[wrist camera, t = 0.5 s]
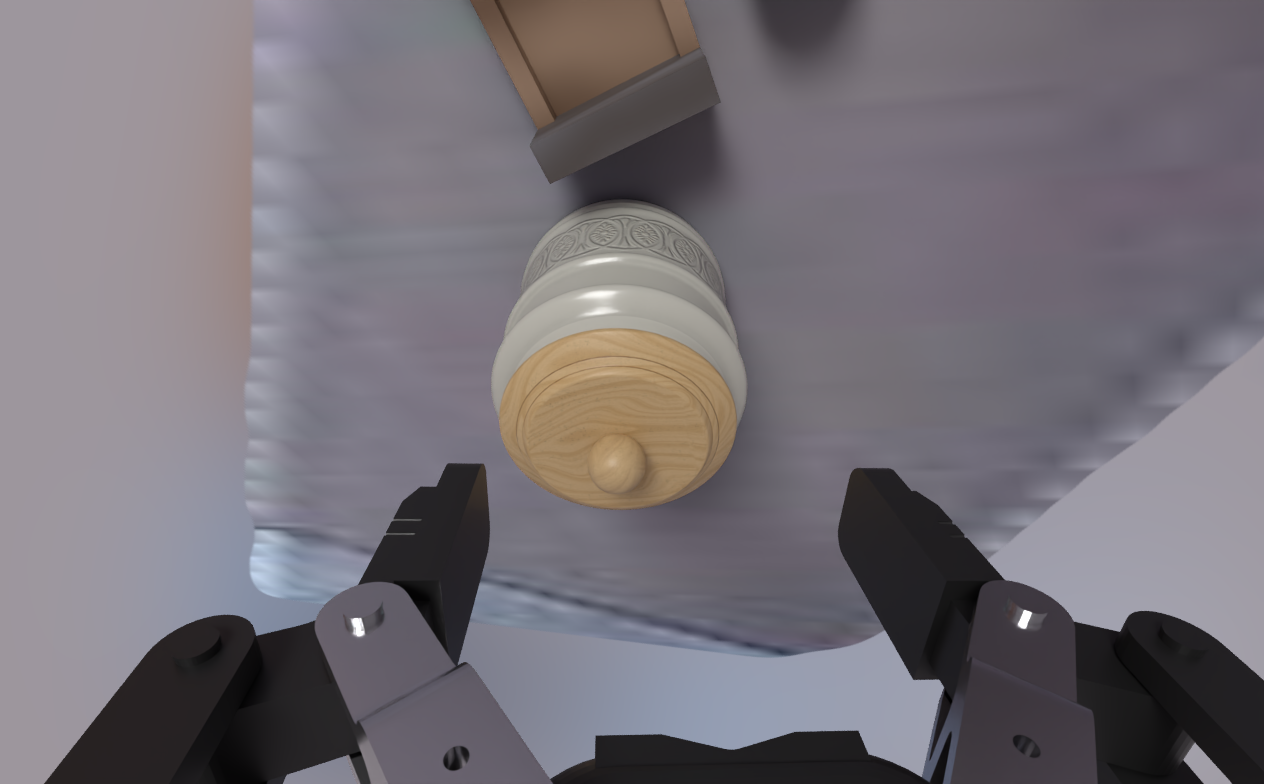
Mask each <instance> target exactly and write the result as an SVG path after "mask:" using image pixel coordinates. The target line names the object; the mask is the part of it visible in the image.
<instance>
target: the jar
mask: <svg viewBox="0 0 1264 784" xmlns="http://www.w3.org/2000/svg"><path fill="white" fill-rule="evenodd" d="M747 391H748V389H747V375H746V370H745V366H744V363H743V360H742V357H741V355H740V352H739V350H738V338H737V334H736V330H735V327H734V323H733V321H732V319H731V316H730V314H729V312H728V311H727V308H726V303H725V288H724V282H723V278H722V275H721V271H720V268H719V265H718V262H717V260H716V258H715V256H714V254H713V252H712V250H711V249H710V247H709V246H708V244H707V243H706V242H705V240H704V239H703V238H702V237H701V236H700V235H699V233H698V232H697V231H696V230H695V229H694V228H693V227H692V226H691V225H690V224H689V223H687V222H686V221H685V220H684V219H682V218H681V217H679V216H678V215H676V214H675V213H673V212H671V211H669V210H667V209H665V208H663V207H661V206H658V205H655V204H652V203H648V202H644V201H639V200H630V199H615V200H606V201H601V202H597V203H593V204H590V205H587V206H585V207H582V208H580V209H578V210H576V211H574V212H572V213H570V214H569V215H567V216H566V217H564V218H563V219H562V220H561V221H559V222H558V223H557V224H556V225H555V226H554V227H552V228H551V229H550V230H549V231H548V232H547V233H546V234H545V235H544V237H543V238H542V239H541V240H540V242H539V243H538V244H537V246H536V247H535V249H534V251H533V252H532V254H531V257H530V259H529V261H528V264H527V266H526V269H525V272H524V275H523V279H522V285H521V294H520V297H519V300H518V301H517V303H516V305H515V306H514V308H513V310H512V312H511V314H510V316H509V319H508V321H507V324H506V328H505V332H504V338H503V342H502V344H501V346H500V348H499V350H498V352H497V355H496V358H495V361H494V364H493V369H492V375H491V393H492V399H493V404H494V408H495V411H496V414H497V416H498V419H499V424H500V431H501V435H502V439H503V442H504V445H505V447H506V449H507V451H508V453H509V455H510V456H511V458H512V460H513V461H514V462H515V464H516V465H517V466H518V467H519V469H520V470H521V471H522V472H523V473H524V474H525V475H526V476H527V477H528V478H530V479H531V480H532V481H533V482H534V483H536V484H537V485H539V486H540V487H542V488H543V489H545V490H546V491H548V492H550V493H552V494H554V495H556V496H558V497H560V498H562V499H565V500H568V501H570V502H573V503H577V504H580V505H584V506H588V507H594V508H600V509H610V510H631V509H641V508H647V507H653V506H657V505H661V504H664V503H667V502H670V501H673V500H676V499H678V498H680V497H682V496H684V495H686V494H688V493H690V492H692V491H694V490H695V489H697V488H698V487H700V486H701V485H703V484H704V483H705V482H706V481H707V480H709V479H710V478H711V477H712V476H713V475H714V474H715V473H716V472H717V471H718V470H719V468H720V467H721V466H722V464H723V463H724V461H725V460H726V458H727V457H728V455H729V453H730V451H731V448H732V446H733V443H734V439H735V435H736V429H737V427H738V425H739V423H740V421H741V419H742V416H743V413H744V409H745V406H746V401H747Z"/></svg>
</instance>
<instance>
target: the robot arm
mask: <svg viewBox="0 0 1264 784" xmlns="http://www.w3.org/2000/svg"><path fill="white" fill-rule="evenodd" d="M489 537H490V521H489V507H488V494H487V480H486V470H485V466H484V464H457V463H449V464H447V465H446V467H445V469H444V471H443V474H442V476H441V478H440V480H439V482H438V485H437V487H420V488H418V489H417V490H416V491H415V492H413V493H412V494H411V495H410V496H408V497H407V498H406V499H405V500H404V501H402V503H401V505H400V507H399V509H398V511H397V513H396V515H395V517H394V521H392V522H391V524H390V526H389V528H388V530H387V532H386V536H384V537H383V539H382V541H381V543H380V545H379V547H378V548H377V550H376V552H375V554H374V556H373V558H372V560H371V562H370V563H369V565H368V567H367V569H366V571H365V573H364V575H363V577H362V578H361V580H360V582H359V584H358V585H357V586H354V587H351V588H349V589H347V590H345V591H343V592H341V593H339V594H338V595H336V596H335V597H333V598H332V599H331V600H330V601H328V602H327V603H326V604H325V605H324V607H323V608H322V609H321V611H320V612H319V614H318V616H317V618H316V620H315V621H313V622H310V623H307V624H303V625H300V626H296V627H292V628H287V629H283V630H279V631H275V632H271V633H267V634H263V635H258V636H256V634H255V630H254V627H253V625H252V624H251V623H250V621H248V620H247V619H245V618H243V617H240V616H235V615H218V616H212V617H207V618H203V619H200V620H197V621H194V622H192V623H189V624H187V625H185V626H183V627H181V628H179V629H177V630H175V631H173V632H172V633H170V634H169V635H167V636H166V637H164V638H163V639H161V640H160V641H159V642H158V643H157V644H156V645H155V646H153V647H152V649H150V651H149V652H148V653H147V654H146V655H145V656H144V658H143V659H142V660H141V662H140V663H139V664H138V665H137V667H136V668H135V669H134V670H133V672H132V673H131V674H130V676H129V677H128V678H127V679H126V681H125V682H124V683H123V685H122V686H121V687H120V688H119V689H118V691H117V692H116V693H115V694H114V696H113V697H112V698H111V700H110V701H109V702H108V703H107V705H106V706H105V707H104V708H103V710H102V711H101V713H100V714H99V715H98V716H97V717H96V719H95V720H94V721H93V722H92V724H91V725H90V726H89V728H88V729H87V730H86V731H85V733H84V734H83V735H82V736H81V738H80V739H79V740H78V741H77V743H76V744H75V745H74V747H73V748H72V749H71V750H70V752H69V753H68V754H67V755H66V757H65V758H64V759H63V760H62V762H61V763H60V764H59V766H58V767H57V768H56V769H55V771H54V772H53V773H52V775H51V776H50V777H49V778H48V780H47V781H46V782H45V783H44V784H283V782H284V779H285V777H286V775H287V774H290V773H293V772H297V771H300V770H303V769H306V768H309V767H312V766H315V765H318V764H321V763H325V762H328V761H331V760H334V759H336V758H340V757H343V756H346V757H347V760H348V762H349V765H350V767H351V770H352V772H353V775H354V777H355V780H356V782H357V784H1203V783H1202V781H1201V780H1200V779H1199V778H1198V777H1197V776H1196V774H1195V773H1194V772H1193V771H1192V770H1191V769H1190V767H1189V766H1188V765H1187V764H1186V763H1185V762H1184V760H1183V759H1184V758H1185V756H1186V755H1187V753H1188V752H1189V750H1190V749H1191V747H1192V746H1193V744H1194V743H1196V744H1197V745H1198V746H1199V747H1200V748H1201V749H1202V750H1203V752H1204V753H1205V754H1206V755H1207V756H1208V757H1209V758H1210V759H1211V760H1212V762H1213V763H1214V764H1215V765H1216V766H1217V767H1218V768H1219V769H1220V770H1221V771H1222V773H1223V774H1224V775H1225V776H1226V777H1227V778H1228V779H1229V780H1230V782H1231V783H1232V784H1264V680H1263V679H1262V678H1260V677H1259V676H1258V675H1257V674H1256V673H1255V672H1254V671H1252V670H1251V669H1250V668H1249V667H1248V666H1247V665H1246V664H1244V663H1243V662H1242V661H1241V660H1240V659H1239V658H1238V657H1237V656H1235V655H1234V654H1233V653H1232V652H1231V651H1230V650H1229V649H1228V648H1226V647H1225V646H1224V645H1223V644H1222V643H1220V642H1219V641H1218V640H1217V639H1215V638H1214V637H1212V636H1211V635H1210V634H1208V633H1206V632H1205V631H1203V630H1201V629H1200V628H1198V627H1196V626H1194V625H1192V624H1190V623H1188V622H1185V621H1183V620H1181V619H1178V618H1175V617H1172V616H1170V615H1166V614H1162V613H1157V612H1152V611H1138V612H1134V613H1132V614H1131V615H1129V616H1128V618H1127V620H1126V621H1125V623H1124V625H1123V627H1122V629H1121V631H1120V632H1117V631H1113V630H1109V629H1104V628H1100V627H1095V626H1091V625H1086V624H1082V623H1077V622H1073V620H1072V618H1071V616H1070V615H1069V613H1068V612H1067V611H1066V610H1065V609H1064V608H1063V607H1062V606H1061V605H1060V604H1059V603H1058V602H1056V601H1055V600H1054V599H1052V598H1051V597H1049V596H1048V595H1046V594H1044V593H1043V592H1041V591H1038V590H1037V589H1034V588H1032V587H1030V586H1027V585H1024V584H1021V583H1017V582H1013V581H1006V580H1004V579H1003V578H1002V576H1001V575H1000V574H999V573H998V572H997V571H996V569H995V568H994V567H993V566H992V565H991V564H990V563H989V562H988V561H987V559H986V558H985V557H984V556H983V555H982V554H981V553H980V552H979V550H978V549H977V548H976V547H975V546H974V545H973V544H972V543H971V542H970V540H969V539H968V538H964V534H963V533H962V532H961V530H960V529H959V528H958V527H957V526H956V525H954V524H952V520H951V519H950V518H949V517H948V516H947V515H946V514H945V513H944V511H943V510H942V509H941V508H940V507H939V506H938V505H937V504H935V503H934V502H932V501H931V500H929V499H928V498H926V497H924V496H923V495H921V494H920V493H918V492H917V491H911V490H910V489H909V488H908V486H907V485H906V484H905V483H904V482H903V481H902V479H901V478H900V477H899V476H898V475H897V474H896V472H895V471H894V470H892V469H889V468H856V469H854V470H853V471H852V473H851V475H850V478H849V483H848V487H847V492H846V496H845V500H844V505H843V509H842V513H841V518H840V522H839V528H838V540H839V546H840V549H841V552H842V555H843V557H844V558H845V560H846V562H847V564H848V565H849V567H850V569H851V571H852V572H853V574H854V576H855V578H856V579H857V581H858V583H859V585H860V587H861V588H862V590H863V592H864V594H865V595H866V597H867V599H868V601H869V602H870V604H871V606H872V608H873V609H874V611H875V613H876V615H877V616H878V618H879V620H880V622H881V624H882V625H883V627H884V629H885V631H886V632H887V634H888V636H889V637H890V639H891V641H892V643H893V644H894V646H895V648H896V650H897V652H898V653H899V655H900V657H901V659H902V661H903V662H904V664H905V666H906V668H907V669H908V671H909V673H910V675H911V676H912V678H913V680H928V679H929V680H933V679H939V680H940V681H941V683H942V684H943V686H944V689H943V692H942V695H941V698H940V700H939V704H938V709H937V713H936V718H935V721H934V726H933V730H932V735H931V740H930V744H929V748H928V752H927V757H926V761H925V766H924V771H923V774H922V777H920V776H918V775H917V774H915V773H913V772H911V771H909V770H908V769H906V768H903V767H901V766H899V765H897V764H895V763H893V762H890V761H887V760H884V759H881V758H879V757H876V756H872V755H868V752H867V750H866V748H865V745H864V743H863V741H862V738H861V736H860V734H859V731H817V732H794V733H790V734H787V735H784V736H780V737H777V738H774V739H770V740H767V741H763V742H760V743H757V744H753V745H750V746H747V747H743V748H740V749H736V750H727V749H722V748H718V747H714V746H710V745H705V744H701V743H696V742H692V741H688V740H683V739H679V738H675V737H670V736H666V735H662V734H661V735H659V734H658V735H608V736H596V741H595V743H596V744H595V759H592V760H589V761H585V762H582V763H580V764H577V765H575V766H573V767H571V768H569V769H566V770H565V771H563V772H561V773H560V774H558V775H556V776H555V777H553V778H551V779H549V777H548V776H547V774H546V773H545V771H544V770H543V768H542V767H541V766H540V764H539V763H538V761H537V760H536V758H535V757H534V755H533V754H532V753H531V751H530V750H529V748H528V747H527V745H526V744H525V742H524V741H523V739H522V738H521V736H520V735H519V734H518V732H517V731H516V729H515V728H514V726H513V725H512V723H511V722H510V720H509V719H508V717H507V716H506V715H505V713H504V712H503V710H502V709H501V708H500V706H499V704H498V703H497V701H496V700H495V699H494V697H493V696H492V694H491V693H490V691H489V690H488V688H487V687H486V685H485V684H484V683H483V681H482V680H481V678H480V677H479V675H478V674H477V672H476V671H475V670H474V668H472V666H471V665H470V664H468V663H466V662H464V663H461V664H460V665H458V661H459V657H460V654H461V650H462V646H463V643H464V639H465V635H466V631H467V627H468V624H469V620H470V616H471V613H472V609H473V605H474V601H475V598H476V594H477V590H478V586H479V583H480V579H481V575H482V572H483V568H484V564H485V560H486V557H487V553H488V547H489ZM457 665H458V666H457Z"/></svg>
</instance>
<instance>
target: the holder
mask: <svg viewBox="0 0 1264 784" xmlns="http://www.w3.org/2000/svg"><path fill="white" fill-rule="evenodd" d="M470 1H471V3H472V5H473V6H474V8H475V10H476V12H477V14H478V16H479V18H480V20H481V22H482V24H483V26H484V28H485V29H486V31H487V33H488V35H489V37H490V39H491V41H492V43H493V45H494V47H495V49H496V50H497V52H498V54H499V56H500V58H501V60H502V62H503V64H504V66H505V68H506V70H507V72H508V73H509V75H510V77H511V79H512V81H513V83H514V85H515V87H516V89H517V91H518V93H519V95H520V96H521V98H522V100H523V102H524V104H525V106H526V108H527V110H528V112H529V114H530V116H531V117H532V119H533V121H534V123H535V125H536V127H537V129H538V131H537V132H536V134H535V136H534V138H533V140H532V142H531V144H530V148H531V150H532V152H533V153H534V155H535V157H536V159H537V161H538V163H539V164H540V166H541V168H542V170H543V172H544V174H545V176H546V177H547V179H548V181H549V183H550V184H551V183H553V182H555V181H557V180H560V179H562V178H564V177H566V176H568V175H570V174H572V173H574V172H576V171H578V170H580V169H583V168H585V167H587V166H589V165H591V164H593V163H595V162H597V161H599V160H601V159H603V158H605V157H608V156H610V155H612V154H614V153H616V152H618V151H620V150H622V149H624V148H626V147H628V146H631V145H633V144H635V143H637V142H639V141H641V140H643V139H645V138H647V137H649V136H651V135H654V134H656V133H658V132H660V131H662V130H664V129H666V128H668V127H670V126H672V125H674V124H676V123H679V122H681V121H683V120H685V119H687V118H689V117H691V116H693V115H695V114H697V113H699V112H702V111H704V110H706V109H708V108H710V107H712V106H714V105H716V104H718V103H720V99H719V96H718V93H717V90H716V87H715V84H714V81H713V78H712V75H711V72H710V69H709V66H708V63H707V60H706V57H705V55H704V54H703V52H702V50H701V48H700V46H699V43H698V40H697V37H696V34H695V31H694V28H693V25H692V22H691V19H690V16H689V13H688V10H687V7H686V4H685V1H684V0H470Z"/></svg>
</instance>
